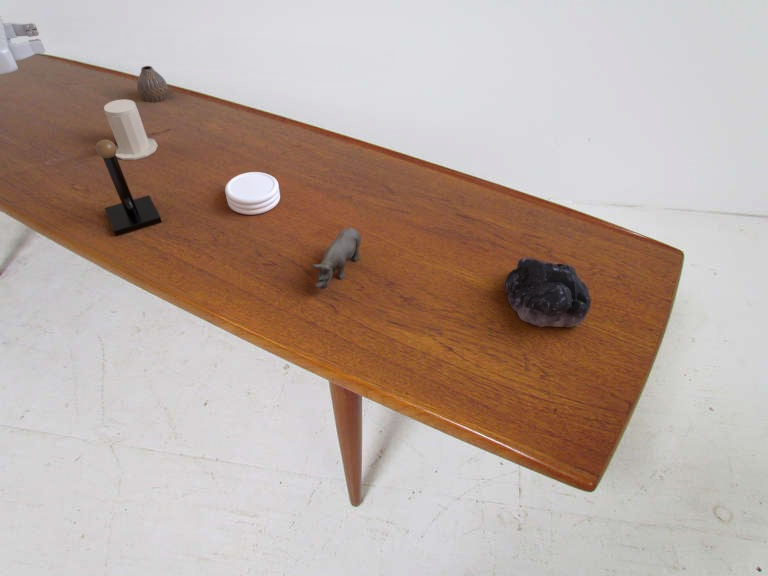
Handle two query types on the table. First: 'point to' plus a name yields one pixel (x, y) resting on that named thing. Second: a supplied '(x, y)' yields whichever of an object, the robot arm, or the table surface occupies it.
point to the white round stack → (252, 193)
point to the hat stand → (125, 197)
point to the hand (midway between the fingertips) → (40, 36)
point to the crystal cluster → (547, 293)
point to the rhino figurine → (338, 256)
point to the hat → (128, 130)
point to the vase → (152, 85)
